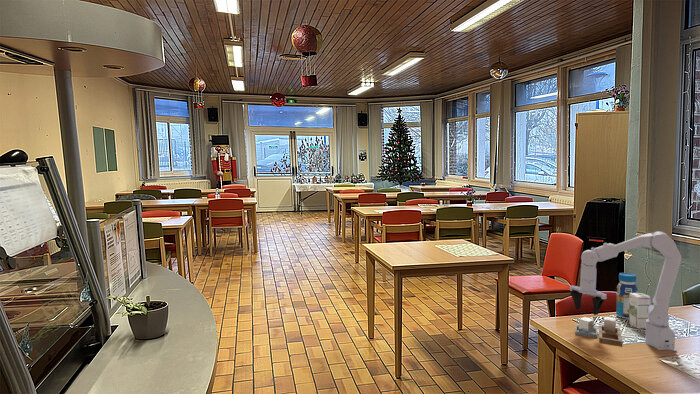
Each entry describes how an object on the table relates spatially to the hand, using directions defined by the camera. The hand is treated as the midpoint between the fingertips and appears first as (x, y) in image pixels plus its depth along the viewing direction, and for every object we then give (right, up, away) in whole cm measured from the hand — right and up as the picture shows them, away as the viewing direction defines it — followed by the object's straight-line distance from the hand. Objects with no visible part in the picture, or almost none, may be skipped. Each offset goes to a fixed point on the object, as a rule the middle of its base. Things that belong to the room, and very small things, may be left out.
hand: (586, 311), depth 178 cm
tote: (0, -10, 0) cm, 10 cm away
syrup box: (+27, -9, +8) cm, 30 cm away
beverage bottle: (+31, -8, +22) cm, 39 cm away
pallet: (+7, -10, -4) cm, 13 cm away
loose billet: (0, -9, 0) cm, 9 cm away
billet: (+9, -9, 0) cm, 13 cm away
